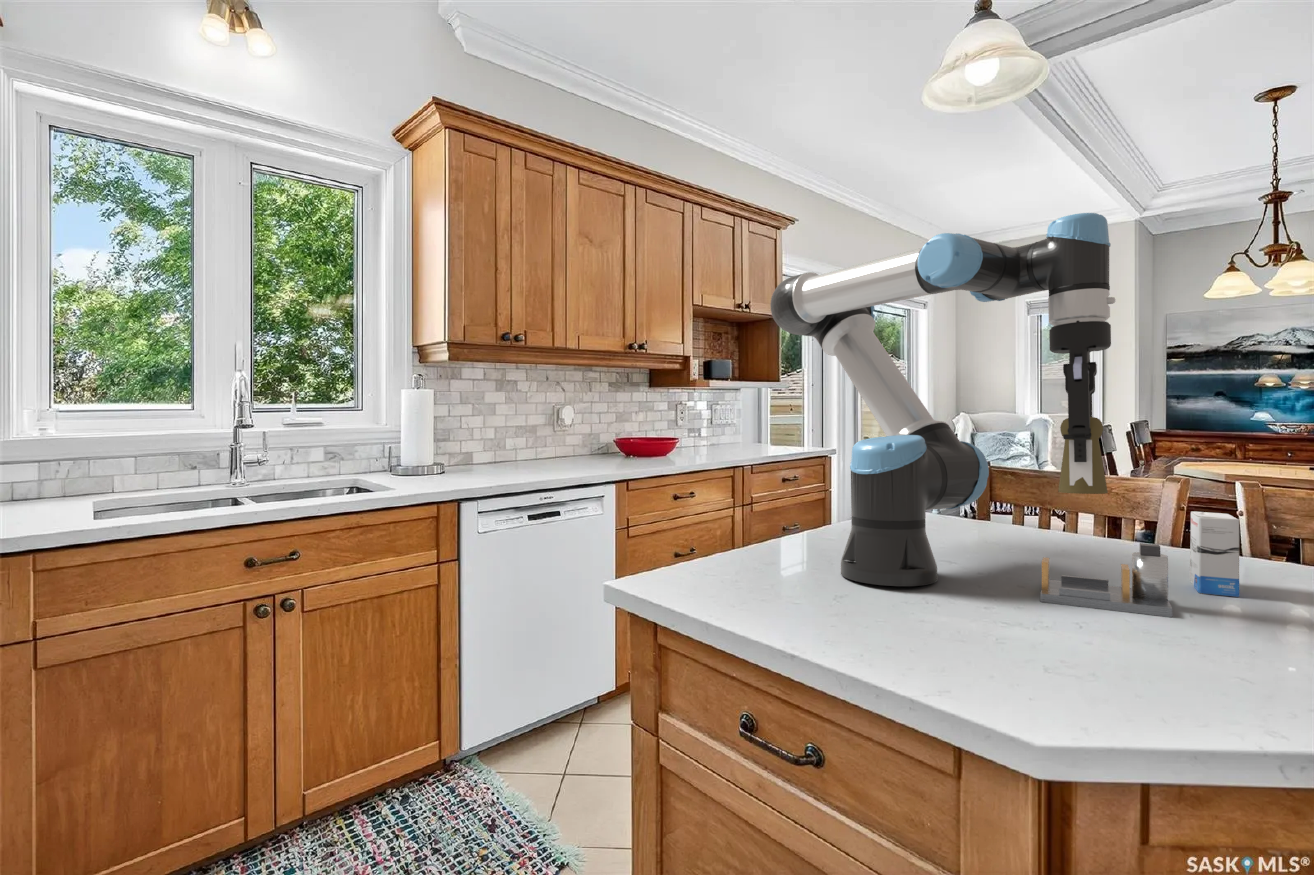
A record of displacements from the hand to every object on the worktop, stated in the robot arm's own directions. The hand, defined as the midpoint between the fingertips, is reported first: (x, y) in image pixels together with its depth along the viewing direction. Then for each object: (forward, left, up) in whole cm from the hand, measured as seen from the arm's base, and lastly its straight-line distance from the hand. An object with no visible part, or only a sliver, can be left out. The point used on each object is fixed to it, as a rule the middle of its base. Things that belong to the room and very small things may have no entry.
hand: (1082, 484), depth 95 cm
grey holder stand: (+2, +2, -17) cm, 17 cm away
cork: (0, 0, -1) cm, 1 cm away
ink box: (+17, +18, -17) cm, 30 cm away
